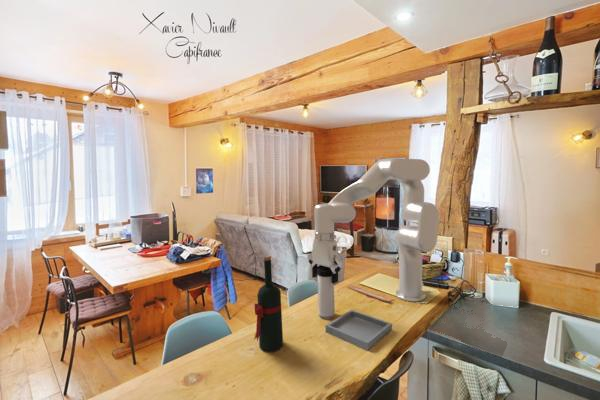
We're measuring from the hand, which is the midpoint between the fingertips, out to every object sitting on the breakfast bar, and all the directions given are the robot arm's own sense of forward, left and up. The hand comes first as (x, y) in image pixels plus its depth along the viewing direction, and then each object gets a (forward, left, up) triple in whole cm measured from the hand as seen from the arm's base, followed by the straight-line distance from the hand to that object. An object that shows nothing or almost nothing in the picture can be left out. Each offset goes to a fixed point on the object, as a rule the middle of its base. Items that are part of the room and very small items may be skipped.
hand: (324, 279), depth 117 cm
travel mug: (0, 0, -15) cm, 15 cm away
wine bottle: (+29, -1, -15) cm, 32 cm away
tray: (+2, +16, -15) cm, 22 cm away
